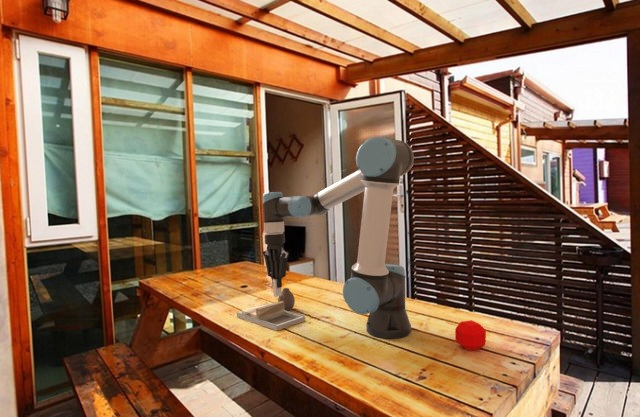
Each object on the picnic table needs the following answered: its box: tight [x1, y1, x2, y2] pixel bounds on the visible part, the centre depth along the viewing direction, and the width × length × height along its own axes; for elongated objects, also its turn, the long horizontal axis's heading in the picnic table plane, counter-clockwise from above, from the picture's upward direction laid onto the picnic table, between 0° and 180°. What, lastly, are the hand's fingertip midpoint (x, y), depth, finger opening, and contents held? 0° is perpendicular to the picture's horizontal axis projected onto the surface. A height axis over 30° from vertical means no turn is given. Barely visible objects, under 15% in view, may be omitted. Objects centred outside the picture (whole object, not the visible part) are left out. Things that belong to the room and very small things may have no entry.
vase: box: [277, 287, 296, 312], centre depth 163 cm, size 7×7×9 cm
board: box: [236, 310, 306, 332], centre depth 152 cm, size 24×14×2 cm, turn 46°
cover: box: [241, 301, 285, 319], centre depth 155 cm, size 11×13×4 cm
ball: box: [454, 320, 487, 351], centre depth 120 cm, size 8×8×8 cm
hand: (277, 295), depth 148 cm, fingers closed
